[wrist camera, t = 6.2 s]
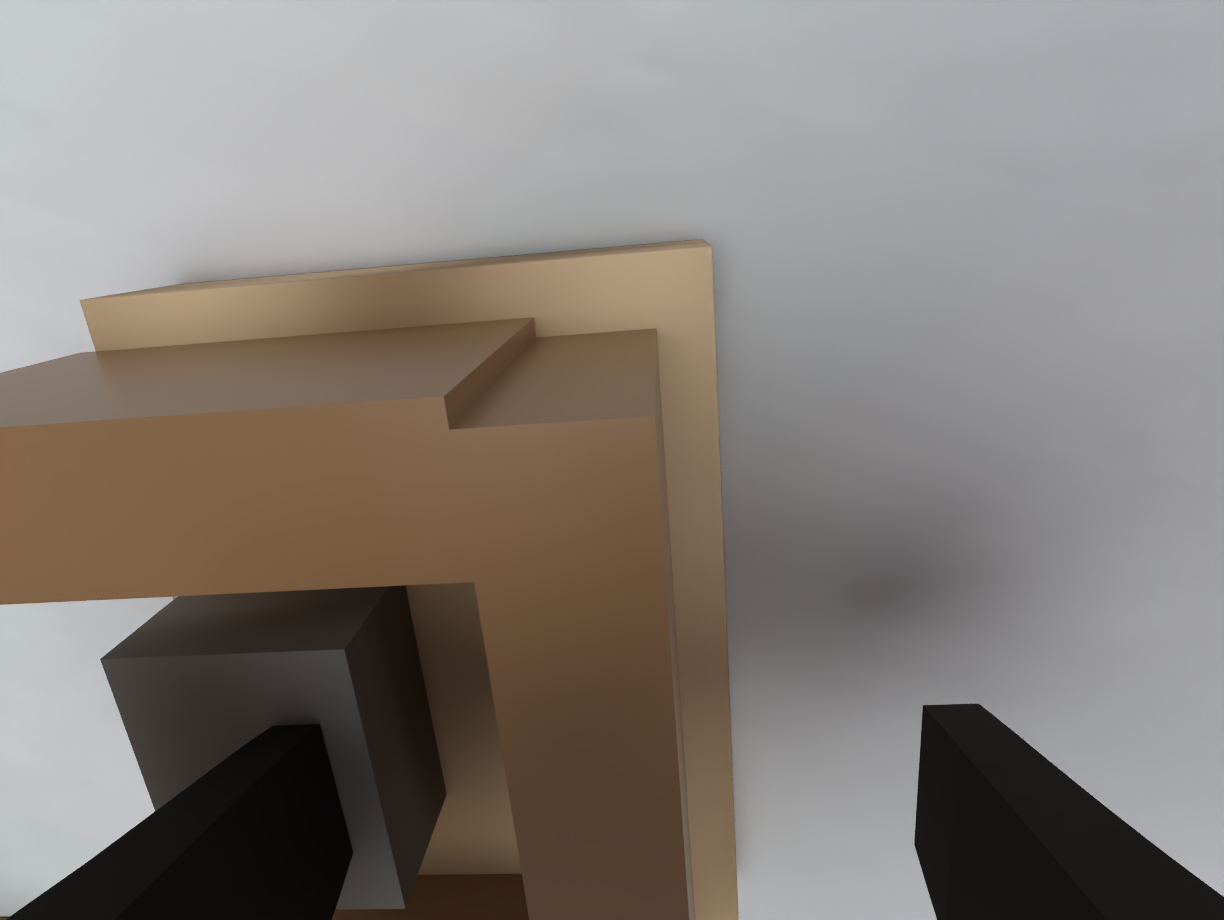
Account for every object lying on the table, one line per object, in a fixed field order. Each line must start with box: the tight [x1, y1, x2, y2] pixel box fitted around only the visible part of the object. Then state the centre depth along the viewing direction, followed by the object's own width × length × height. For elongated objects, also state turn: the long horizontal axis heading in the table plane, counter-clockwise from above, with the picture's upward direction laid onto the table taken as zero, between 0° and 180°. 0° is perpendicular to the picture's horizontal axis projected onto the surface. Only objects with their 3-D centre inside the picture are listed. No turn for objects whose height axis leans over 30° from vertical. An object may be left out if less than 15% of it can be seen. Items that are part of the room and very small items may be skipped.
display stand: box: [80, 239, 738, 920], centre depth 11 cm, size 8×12×4 cm, turn 5°
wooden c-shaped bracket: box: [0, 317, 695, 920], centre depth 9 cm, size 8×10×4 cm
